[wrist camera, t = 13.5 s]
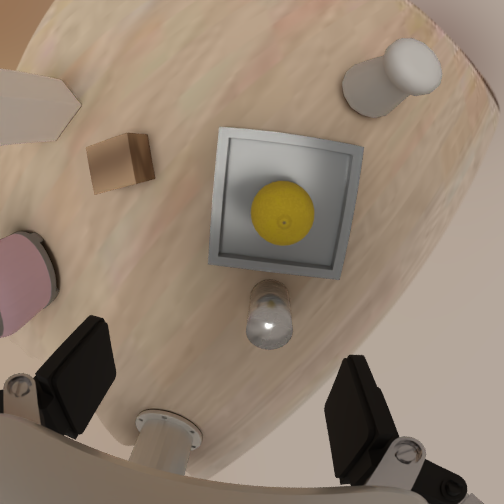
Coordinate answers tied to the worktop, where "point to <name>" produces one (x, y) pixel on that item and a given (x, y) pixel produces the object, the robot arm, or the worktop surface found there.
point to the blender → (24, 280)
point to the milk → (33, 107)
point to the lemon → (282, 213)
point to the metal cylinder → (269, 315)
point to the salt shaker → (392, 78)
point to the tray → (283, 169)
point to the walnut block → (120, 162)
